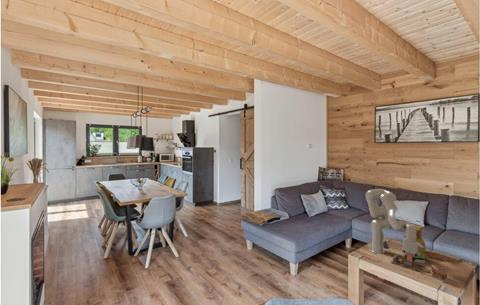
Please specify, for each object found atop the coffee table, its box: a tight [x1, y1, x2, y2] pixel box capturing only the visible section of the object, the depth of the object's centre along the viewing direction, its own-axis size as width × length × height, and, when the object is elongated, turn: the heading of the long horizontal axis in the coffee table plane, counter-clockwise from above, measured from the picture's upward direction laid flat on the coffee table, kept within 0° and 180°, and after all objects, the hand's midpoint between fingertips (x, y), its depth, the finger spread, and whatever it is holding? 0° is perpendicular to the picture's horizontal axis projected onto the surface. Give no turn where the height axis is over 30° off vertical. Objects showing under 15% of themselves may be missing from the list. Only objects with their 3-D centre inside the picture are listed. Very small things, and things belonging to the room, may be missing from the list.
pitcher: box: [402, 224, 426, 248], centre depth 229 cm, size 17×19×25 cm
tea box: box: [414, 242, 426, 264], centre depth 214 cm, size 15×10×15 cm
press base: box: [390, 253, 426, 274], centre depth 202 cm, size 22×12×6 cm, turn 43°
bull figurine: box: [429, 264, 448, 283], centre depth 186 cm, size 4×13×8 cm, turn 7°
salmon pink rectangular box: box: [404, 252, 415, 267], centre depth 201 cm, size 5×8×13 cm, turn 133°
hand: (409, 259), depth 201 cm, fingers closed on salmon pink rectangular box, 4 cm apart
